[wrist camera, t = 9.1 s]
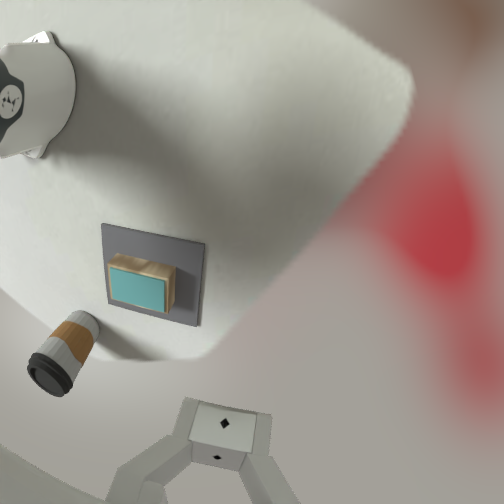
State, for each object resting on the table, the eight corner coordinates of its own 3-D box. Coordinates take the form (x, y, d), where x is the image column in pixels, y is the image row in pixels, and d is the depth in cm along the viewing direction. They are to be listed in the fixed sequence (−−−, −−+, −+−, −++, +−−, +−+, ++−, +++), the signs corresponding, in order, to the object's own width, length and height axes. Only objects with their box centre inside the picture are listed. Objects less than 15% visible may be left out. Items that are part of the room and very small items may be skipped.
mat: (109, 301, 47) (108, 303, 47) (102, 223, 41) (101, 224, 40) (197, 324, 47) (196, 327, 47) (204, 243, 40) (203, 245, 40)
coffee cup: (60, 307, 50) (16, 361, 37) (89, 301, 48) (43, 362, 35) (83, 341, 54) (46, 397, 41) (113, 338, 52) (76, 401, 39)
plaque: (174, 301, 45) (119, 287, 45) (175, 266, 42) (117, 253, 42) (167, 315, 42) (109, 299, 42) (167, 279, 39) (106, 264, 39)
